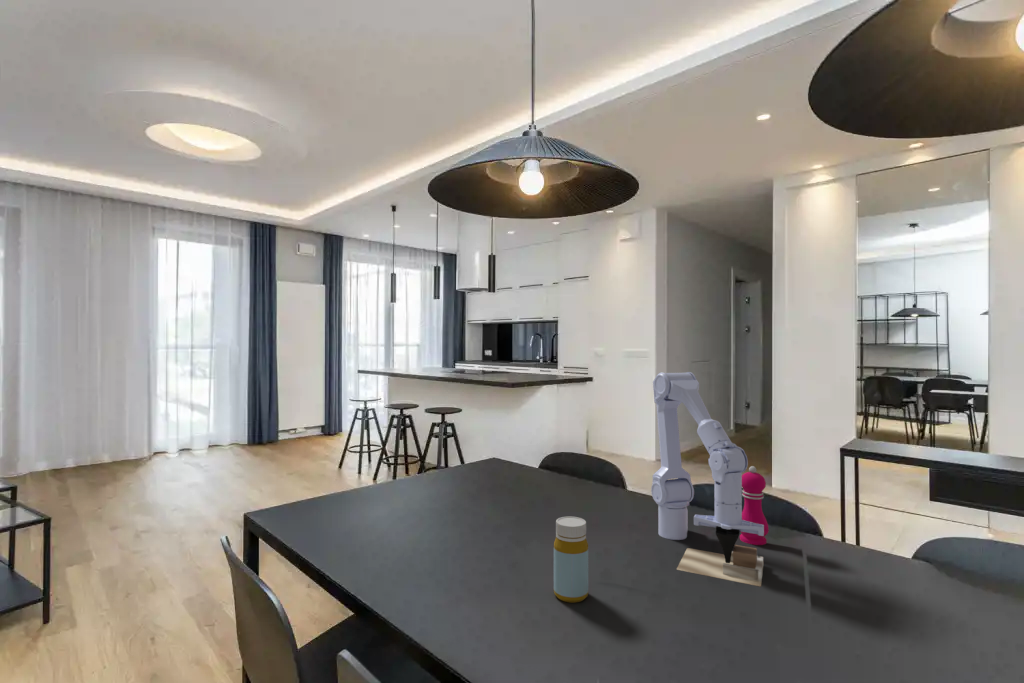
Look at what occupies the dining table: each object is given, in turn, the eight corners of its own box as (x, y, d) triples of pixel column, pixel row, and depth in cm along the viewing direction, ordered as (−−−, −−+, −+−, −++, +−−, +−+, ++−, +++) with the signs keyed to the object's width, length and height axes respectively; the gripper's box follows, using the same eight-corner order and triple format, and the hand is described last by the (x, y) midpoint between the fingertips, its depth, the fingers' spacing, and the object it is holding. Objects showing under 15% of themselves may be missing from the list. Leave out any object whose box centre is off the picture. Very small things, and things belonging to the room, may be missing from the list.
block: (735, 564, 117) (735, 544, 117) (756, 568, 114) (756, 548, 115) (733, 571, 113) (733, 551, 113) (755, 576, 111) (755, 555, 111)
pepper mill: (772, 550, 127) (772, 470, 127) (741, 548, 129) (741, 468, 129) (764, 540, 134) (763, 463, 134) (734, 537, 136) (734, 462, 136)
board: (687, 551, 126) (687, 539, 126) (763, 566, 118) (763, 553, 118) (676, 573, 114) (676, 560, 114) (760, 591, 106) (760, 576, 106)
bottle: (584, 586, 108) (584, 515, 108) (591, 603, 101) (591, 527, 101) (551, 587, 107) (552, 515, 108) (555, 604, 100) (556, 527, 101)
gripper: (691, 501, 115) (691, 561, 115) (762, 511, 108) (763, 575, 108) (696, 493, 122) (696, 550, 121) (764, 502, 115) (764, 563, 114)
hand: (728, 561), depth 115 cm, fingers closed
